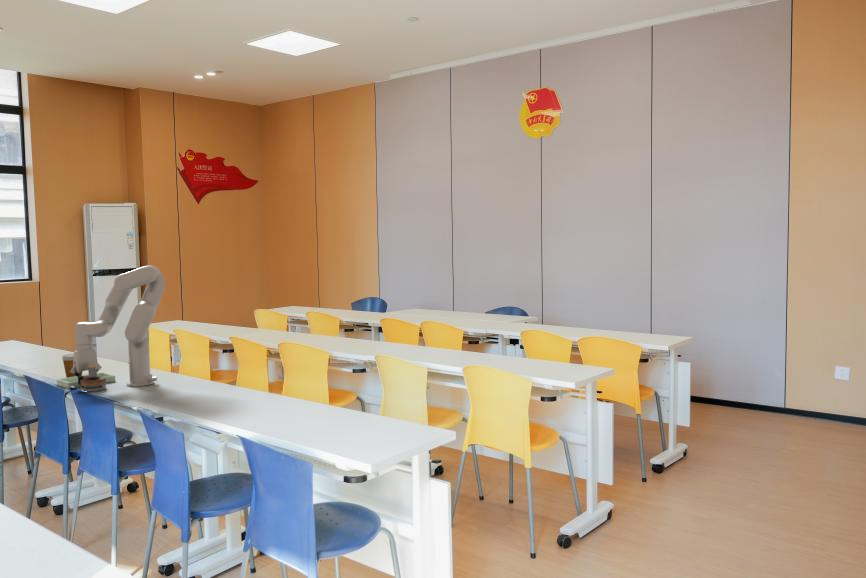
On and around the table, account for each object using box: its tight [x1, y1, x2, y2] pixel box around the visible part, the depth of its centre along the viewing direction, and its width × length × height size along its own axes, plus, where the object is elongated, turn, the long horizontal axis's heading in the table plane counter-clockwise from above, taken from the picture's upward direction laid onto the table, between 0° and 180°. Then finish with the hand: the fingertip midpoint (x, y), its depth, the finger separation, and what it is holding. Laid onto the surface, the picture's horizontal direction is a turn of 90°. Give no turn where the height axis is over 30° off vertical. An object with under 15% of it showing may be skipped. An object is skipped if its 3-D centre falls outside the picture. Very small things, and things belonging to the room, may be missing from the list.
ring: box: [80, 373, 107, 386], centre depth 336 cm, size 16×10×3 cm, turn 48°
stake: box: [80, 364, 107, 393], centre depth 334 cm, size 11×11×12 cm
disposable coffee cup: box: [61, 353, 78, 378], centre depth 365 cm, size 10×10×12 cm
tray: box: [56, 371, 116, 390], centre depth 349 cm, size 23×15×3 cm, turn 138°
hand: (86, 383), depth 339 cm, fingers open, 4 cm apart
